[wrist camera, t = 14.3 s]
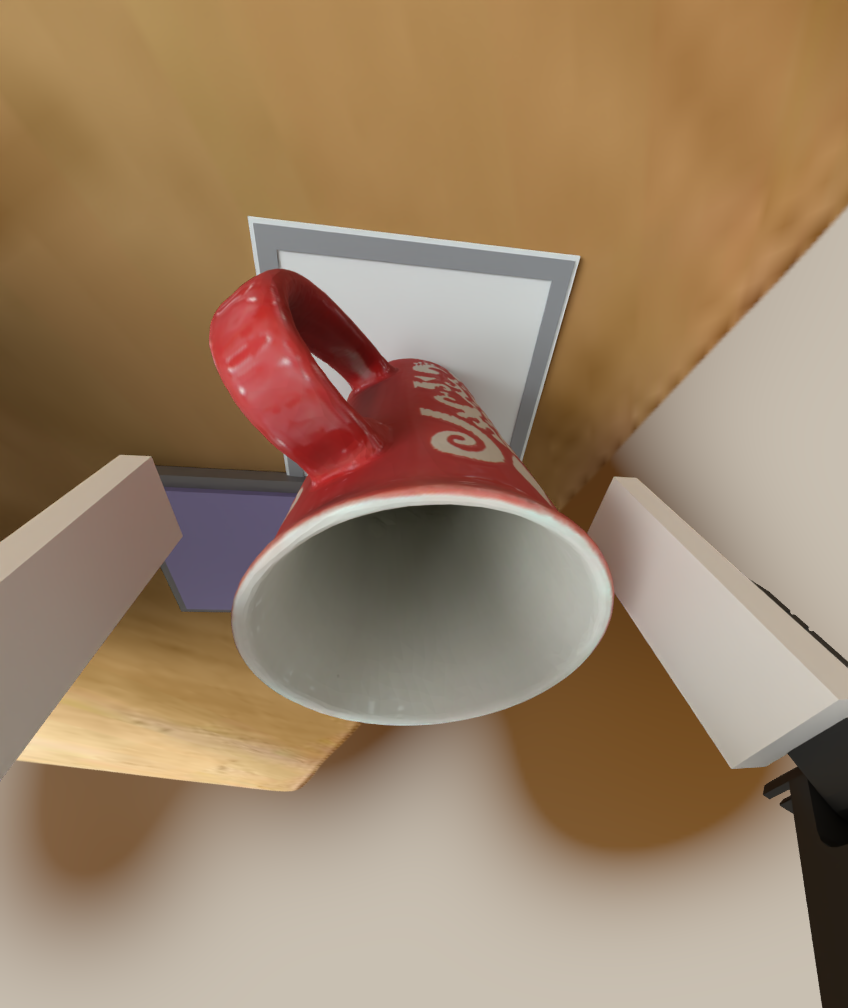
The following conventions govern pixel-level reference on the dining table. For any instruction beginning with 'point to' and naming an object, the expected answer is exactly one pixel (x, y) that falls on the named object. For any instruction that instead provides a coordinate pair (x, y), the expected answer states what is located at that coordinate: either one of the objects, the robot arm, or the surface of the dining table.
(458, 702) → the mug
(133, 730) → the dining table surface
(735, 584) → the robot arm
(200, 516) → the ink pad
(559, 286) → the print card
